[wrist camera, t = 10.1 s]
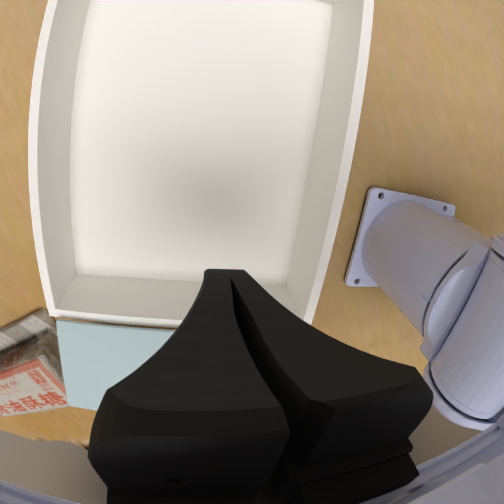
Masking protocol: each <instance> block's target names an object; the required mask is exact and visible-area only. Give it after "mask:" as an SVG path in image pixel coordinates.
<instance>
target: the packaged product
mask: <svg viewBox="0 0 504 504" xmlns="http://www.w3.org/2000/svg"><path fill="white" fill-rule="evenodd" d="M65 407H69V404H68V400H67V395H66V390H65V384H64V378H63V373H62V366H61V359H60V352H59V344H58V335H57V325H56V321H55V319H54V318H53V317H52V316H49V312H48V310H47V309H46V308H42V309H40V310H38V311H36V312H34V313H32V314H31V315H29V316H27V317H25V318H23V319H20V320H18V321H15V322H13V323H10V324H8V325H6V326H4V327H2V328H0V416H3V417H6V416H15V415H22V414H29V413H35V412H41V411H47V410H54V409H58V408H65ZM70 407H71V406H70Z"/></svg>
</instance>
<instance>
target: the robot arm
mask: <svg viewBox="0 0 504 504" xmlns="http://www.w3.org/2000/svg"><path fill="white" fill-rule="evenodd" d="M380 192H381V197H379V198H378V195H379V193H380ZM443 207H444V209H443ZM454 214H455V205H453V204H451V203H447V202H443V201H438V200H434V199H430V198H426V197H421V196H417V195H412V194H407V193H403V192H398V191H393V190H388V189H383V188H378V187H372V188H370V189H369V190H368V193H367V197H366V202H365V206H364V210H363V214H362V218H361V222H360V226H359V230H358V234H357V237H356V241H355V245H354V248H353V252H352V256H351V259H350V263H349V266H348V269H347V273H346V276H345V283H346V285H347V286H357V287H380V288H381V289H382V290H383V292H384V293H385V294H386V295H387V296H388V297H389V298H390V299H391V301H392V302H393V303H394V304H395V305H396V306H397V307H398V308H399V310H400V311H401V312H402V313H403V314H404V315H405V317H406V318H407V319H408V320H409V321H410V322H411V324H412V325H413V326H414V327H415V328H416V329H417V331H418V332H419V333H420V334H421V335H422V337H423V338H424V340H423V343H422V345H421V347H420V351H421V352H422V353H423V355H424V356H425V357H426V358H427V360H428V361H429V362H428V363H427V365H426V367H425V369H424V373H423V377H422V376H421V374H420V373H419V372H418V370H417V369H416V368H415V367H413V366H409V365H405V364H401V363H397V362H394V361H390V360H386V359H383V358H380V357H377V356H374V355H371V354H369V353H366V352H363V351H361V350H358V349H356V348H353V347H351V346H349V345H346V344H344V343H342V342H340V341H338V340H336V339H334V338H332V337H330V336H328V335H326V334H325V333H323V332H321V331H319V330H318V329H316V328H314V327H313V326H311V325H310V324H308V323H306V322H305V321H303V320H302V319H300V318H299V317H298V316H296V315H295V314H293V313H292V312H291V311H290V310H288V309H287V308H286V307H284V306H283V305H282V304H281V303H280V302H278V301H277V300H276V299H275V298H274V297H273V296H271V295H270V294H269V293H268V292H267V291H266V290H265V289H264V288H263V287H262V286H261V285H260V284H259V283H258V282H257V281H255V280H254V279H253V278H252V277H251V276H250V275H249V274H248V273H247V272H246V271H245V270H242V269H206V270H205V271H204V279H203V283H202V285H201V288H200V290H199V293H198V295H197V297H196V299H195V301H194V303H193V305H192V306H191V308H190V310H189V312H188V313H187V315H186V317H185V318H184V320H183V321H182V322H181V324H180V325H179V327H178V328H177V329H176V330H175V332H174V333H173V334H172V335H171V337H170V338H169V339H168V340H167V341H166V342H165V343H164V345H163V346H162V347H161V348H160V349H159V350H158V351H157V352H156V353H155V354H153V355H152V356H151V357H150V358H149V359H148V360H147V361H146V362H144V363H143V364H142V365H141V366H140V367H139V368H137V369H136V370H135V371H134V372H132V373H131V374H130V375H128V376H127V377H125V378H124V379H122V380H121V381H119V382H118V383H116V384H115V385H113V386H112V387H110V388H108V389H107V390H106V392H105V394H104V396H103V398H102V401H101V403H100V405H99V408H98V410H97V413H96V416H95V419H94V422H93V425H92V430H91V435H90V442H89V449H88V458H89V461H90V463H91V465H92V467H93V468H94V469H95V471H96V472H97V474H98V475H99V477H100V478H101V479H102V481H103V482H104V483H105V485H106V486H107V487H108V490H107V504H390V503H393V502H394V503H393V504H504V232H503V233H501V234H499V235H494V236H493V237H492V240H491V239H489V238H488V237H486V236H485V235H483V234H481V233H480V232H478V231H476V230H475V229H473V228H471V227H470V226H468V225H466V224H464V223H463V222H461V221H459V220H458V219H456V218H454ZM356 279H358V280H357V281H355V280H356ZM354 281H355V282H354ZM432 403H433V404H434V406H435V407H436V408H437V409H438V411H439V412H440V413H441V414H442V415H444V416H445V417H446V418H447V419H449V420H450V421H452V422H454V423H456V424H458V425H460V426H464V427H468V428H472V429H478V430H481V431H483V432H481V433H479V434H478V435H476V436H474V437H473V438H471V439H469V440H467V441H466V442H464V443H462V444H460V445H458V446H457V447H455V448H453V449H451V450H449V451H447V452H445V453H443V454H441V455H440V456H437V457H435V458H433V459H431V460H429V461H427V462H425V463H422V464H420V465H418V466H415V464H414V462H413V461H412V459H411V457H410V455H409V452H411V451H412V449H413V446H412V444H411V442H410V440H409V439H408V437H409V436H410V435H411V434H412V432H413V431H414V430H415V429H416V427H417V426H418V425H419V424H420V423H421V421H422V420H423V419H424V417H425V416H426V415H427V413H428V412H429V410H430V408H431V405H432ZM397 500H398V501H397ZM395 501H396V502H395ZM0 504H81V503H75V502H71V501H67V500H63V499H59V498H55V497H51V496H47V495H44V494H41V493H37V492H34V491H31V490H28V489H25V488H21V487H19V486H16V485H13V484H10V483H8V482H5V481H2V480H0Z"/></svg>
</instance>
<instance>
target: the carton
mask: <svg viewBox="0 0 504 504" xmlns="http://www.w3.org/2000/svg"><path fill="white" fill-rule="evenodd" d="M373 9H374V0H49V1H48V4H47V8H46V12H45V16H44V20H43V24H42V28H41V33H40V38H39V43H38V48H37V54H36V60H35V66H34V73H33V81H32V90H31V100H30V113H29V133H28V171H29V192H30V206H31V217H32V226H33V234H34V241H35V248H36V255H37V261H38V266H39V272H40V277H41V282H42V287H43V291H44V296H45V300H46V304H47V308H48V312H49V316H53V317H61V318H69V319H77V320H86V321H95V322H105V323H115V324H126V325H139V326H153V327H169V328H178V327H179V325H180V324H181V322H182V321H183V320H184V318H185V317H186V315H187V313H188V312H189V310H190V308H191V306H192V305H193V303H194V301H195V299H196V297H197V295H198V293H199V290H200V288H201V285H202V283H203V279H204V271H205V270H206V269H242V270H245V271H246V272H247V273H248V274H249V275H250V276H251V277H252V278H253V279H254V280H255V281H257V282H258V283H259V284H260V285H261V286H262V287H263V288H264V289H265V290H266V291H267V292H268V293H269V294H270V295H271V296H273V297H274V298H275V299H276V300H277V301H278V302H280V303H281V304H282V305H283V306H284V307H286V308H287V309H288V310H290V311H291V312H292V313H293V314H295V315H296V316H298V317H299V318H300V319H302V320H303V321H305V322H306V323H308V324H310V325H311V324H312V320H313V317H314V314H315V310H316V307H317V303H318V300H319V296H320V293H321V289H322V286H323V282H324V279H325V275H326V271H327V267H328V264H329V260H330V256H331V252H332V248H333V244H334V240H335V236H336V232H337V228H338V224H339V219H340V215H341V211H342V206H343V202H344V197H345V193H346V188H347V183H348V179H349V174H350V169H351V164H352V159H353V154H354V148H355V143H356V138H357V132H358V126H359V120H360V114H361V108H362V102H363V95H364V88H365V81H366V74H367V67H368V59H369V50H370V41H371V31H372V21H373Z"/></svg>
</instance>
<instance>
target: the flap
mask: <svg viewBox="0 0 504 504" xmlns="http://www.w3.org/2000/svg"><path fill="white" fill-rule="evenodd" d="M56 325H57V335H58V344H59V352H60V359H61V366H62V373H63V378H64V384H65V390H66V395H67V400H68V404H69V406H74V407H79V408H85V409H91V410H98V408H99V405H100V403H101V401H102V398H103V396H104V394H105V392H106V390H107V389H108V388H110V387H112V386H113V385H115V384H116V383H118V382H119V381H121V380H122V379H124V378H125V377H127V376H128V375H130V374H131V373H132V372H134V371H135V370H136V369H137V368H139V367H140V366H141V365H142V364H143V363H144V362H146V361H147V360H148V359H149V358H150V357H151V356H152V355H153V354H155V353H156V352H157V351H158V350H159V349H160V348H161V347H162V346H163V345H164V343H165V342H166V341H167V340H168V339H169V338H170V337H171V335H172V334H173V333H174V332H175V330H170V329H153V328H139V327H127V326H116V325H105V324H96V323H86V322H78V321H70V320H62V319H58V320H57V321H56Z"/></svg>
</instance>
